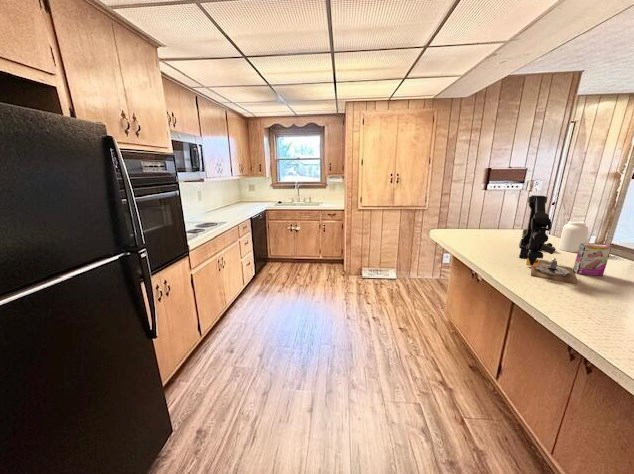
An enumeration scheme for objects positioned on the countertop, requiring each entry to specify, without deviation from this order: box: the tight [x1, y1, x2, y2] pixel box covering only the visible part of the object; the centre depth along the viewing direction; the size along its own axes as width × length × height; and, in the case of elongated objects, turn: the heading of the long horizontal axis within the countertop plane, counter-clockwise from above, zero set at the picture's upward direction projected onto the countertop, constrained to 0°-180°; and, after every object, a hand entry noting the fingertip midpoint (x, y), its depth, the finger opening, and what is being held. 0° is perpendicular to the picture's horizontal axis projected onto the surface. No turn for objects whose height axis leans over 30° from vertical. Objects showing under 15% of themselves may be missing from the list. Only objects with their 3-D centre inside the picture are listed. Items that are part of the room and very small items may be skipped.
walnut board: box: [530, 262, 578, 285], centre depth 147 cm, size 18×24×1 cm
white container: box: [558, 220, 589, 253], centre depth 182 cm, size 12×12×20 cm
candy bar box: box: [572, 243, 612, 277], centre depth 143 cm, size 11×5×16 cm, turn 71°
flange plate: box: [525, 258, 570, 276], centre depth 148 cm, size 18×13×4 cm
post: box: [550, 259, 558, 271], centre depth 146 cm, size 2×2×7 cm
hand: (531, 265), depth 151 cm, fingers closed
